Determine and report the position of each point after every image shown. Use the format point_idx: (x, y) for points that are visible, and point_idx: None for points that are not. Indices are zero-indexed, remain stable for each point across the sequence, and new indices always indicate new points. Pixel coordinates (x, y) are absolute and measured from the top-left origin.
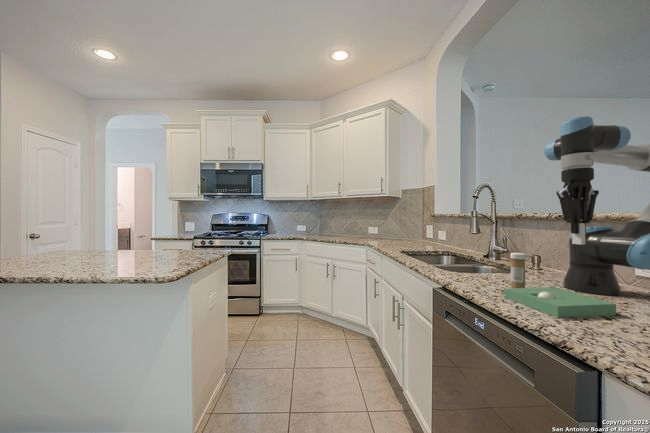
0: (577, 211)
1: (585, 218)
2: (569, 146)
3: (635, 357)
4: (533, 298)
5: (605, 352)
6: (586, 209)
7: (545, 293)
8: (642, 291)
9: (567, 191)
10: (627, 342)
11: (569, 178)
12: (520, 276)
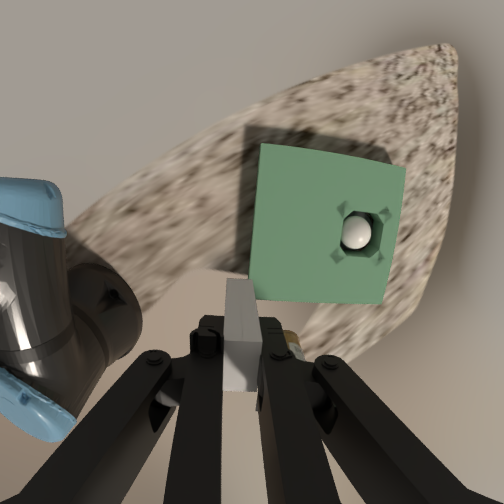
0: (303, 416)
1: (207, 367)
2: None
3: (423, 53)
4: (398, 225)
5: (441, 73)
6: (186, 428)
7: (366, 230)
8: None
9: None
10: (391, 69)
11: None
12: (298, 352)
